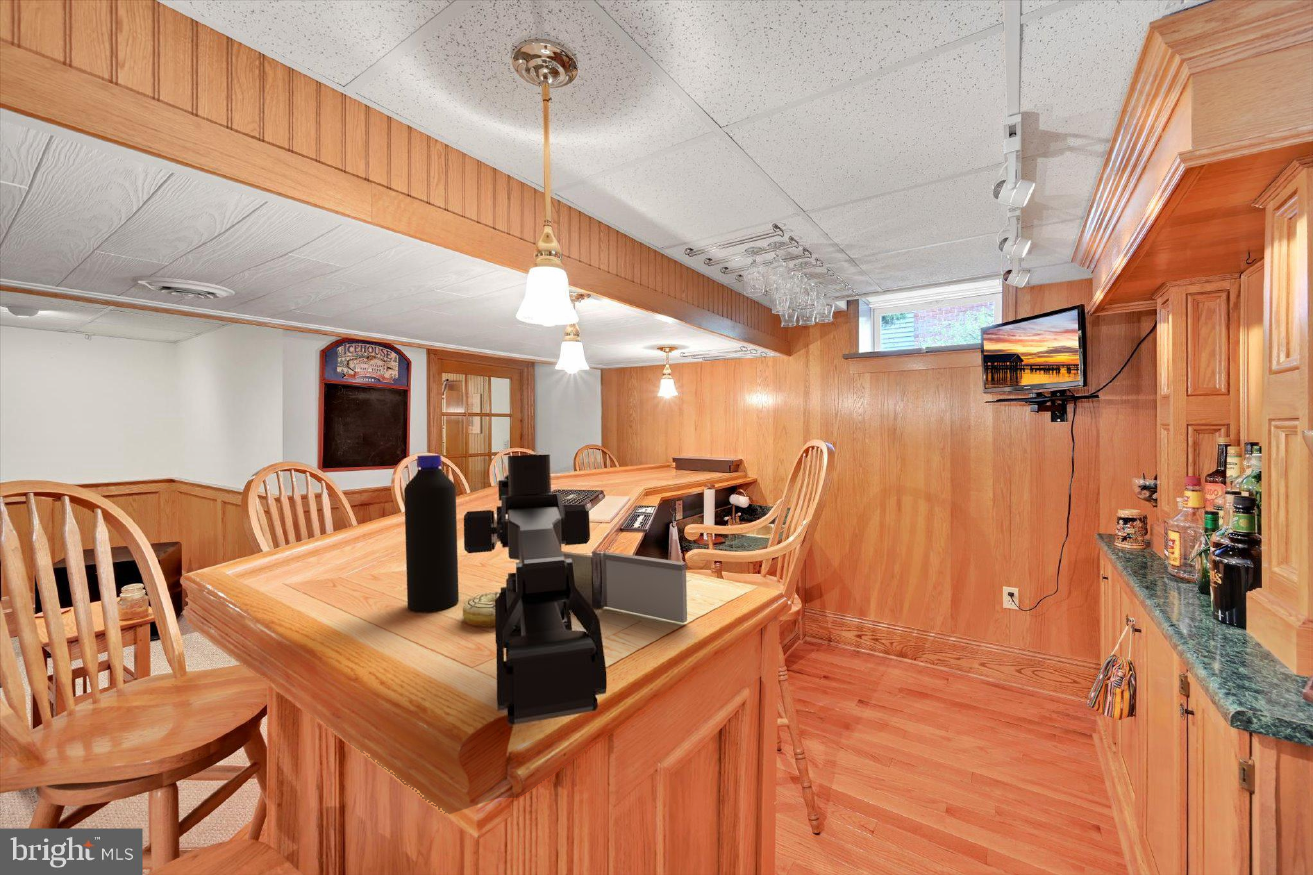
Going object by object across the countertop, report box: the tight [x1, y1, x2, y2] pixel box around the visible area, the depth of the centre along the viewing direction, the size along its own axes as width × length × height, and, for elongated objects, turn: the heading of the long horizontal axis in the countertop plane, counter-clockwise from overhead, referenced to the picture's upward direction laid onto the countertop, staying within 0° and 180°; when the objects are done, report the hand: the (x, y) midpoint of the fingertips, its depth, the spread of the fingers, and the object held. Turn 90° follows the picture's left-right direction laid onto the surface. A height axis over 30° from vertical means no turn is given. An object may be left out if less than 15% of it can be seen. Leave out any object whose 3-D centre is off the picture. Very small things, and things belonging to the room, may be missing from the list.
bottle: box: [403, 454, 460, 613], centre depth 97 cm, size 9×9×28 cm
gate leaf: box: [602, 551, 688, 624], centre depth 89 cm, size 17×2×10 cm, turn 57°
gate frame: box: [562, 550, 605, 610], centre depth 97 cm, size 14×2×10 cm, turn 57°
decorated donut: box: [462, 591, 501, 628], centre depth 90 cm, size 10×11×4 cm
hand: (526, 526), depth 89 cm, fingers open, 9 cm apart
